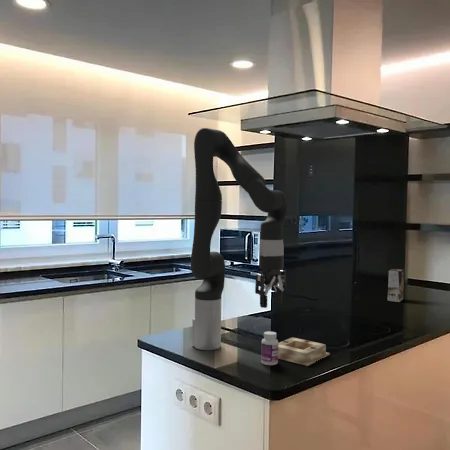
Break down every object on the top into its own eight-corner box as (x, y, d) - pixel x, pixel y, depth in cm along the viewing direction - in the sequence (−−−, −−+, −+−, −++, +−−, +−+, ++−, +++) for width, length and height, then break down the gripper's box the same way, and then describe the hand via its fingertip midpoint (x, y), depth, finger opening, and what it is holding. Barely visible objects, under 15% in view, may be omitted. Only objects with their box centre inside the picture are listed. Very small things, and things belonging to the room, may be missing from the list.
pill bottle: (275, 366, 153) (275, 336, 152) (258, 364, 155) (259, 334, 154) (279, 361, 158) (280, 331, 157) (263, 359, 160) (264, 329, 159)
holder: (267, 356, 163) (267, 344, 163) (291, 346, 175) (291, 335, 175) (307, 366, 154) (307, 354, 153) (329, 354, 165) (330, 343, 165)
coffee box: (400, 302, 255) (401, 271, 254) (387, 300, 258) (388, 270, 257) (403, 299, 263) (404, 269, 262) (391, 298, 266) (392, 268, 265)
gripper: (273, 251, 162) (273, 300, 163) (248, 254, 151) (248, 307, 152) (293, 252, 157) (293, 303, 158) (268, 256, 146) (268, 310, 147)
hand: (271, 305), depth 155 cm, fingers open, 8 cm apart
